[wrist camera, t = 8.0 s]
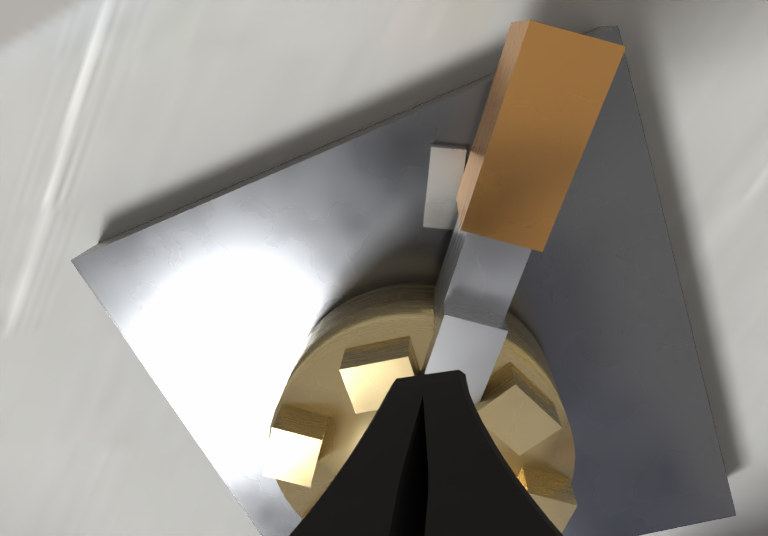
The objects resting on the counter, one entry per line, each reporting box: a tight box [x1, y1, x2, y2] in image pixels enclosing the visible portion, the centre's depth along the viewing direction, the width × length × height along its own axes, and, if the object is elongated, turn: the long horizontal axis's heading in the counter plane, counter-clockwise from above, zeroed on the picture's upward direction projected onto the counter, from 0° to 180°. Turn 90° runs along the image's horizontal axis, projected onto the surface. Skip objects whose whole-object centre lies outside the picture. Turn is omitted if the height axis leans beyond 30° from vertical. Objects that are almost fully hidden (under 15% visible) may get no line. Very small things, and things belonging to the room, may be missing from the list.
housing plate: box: [71, 26, 736, 536], centre depth 19 cm, size 18×18×2 cm
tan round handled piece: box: [263, 20, 626, 533], centre depth 15 cm, size 16×9×4 cm, turn 166°
